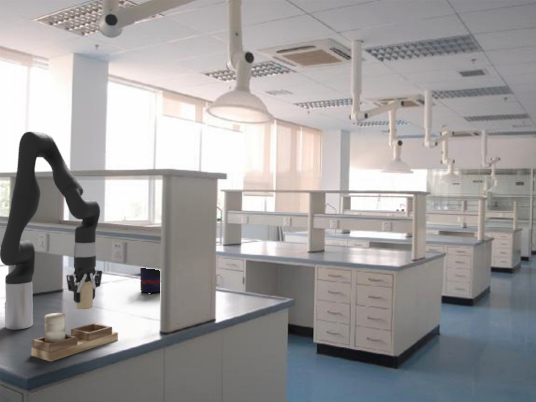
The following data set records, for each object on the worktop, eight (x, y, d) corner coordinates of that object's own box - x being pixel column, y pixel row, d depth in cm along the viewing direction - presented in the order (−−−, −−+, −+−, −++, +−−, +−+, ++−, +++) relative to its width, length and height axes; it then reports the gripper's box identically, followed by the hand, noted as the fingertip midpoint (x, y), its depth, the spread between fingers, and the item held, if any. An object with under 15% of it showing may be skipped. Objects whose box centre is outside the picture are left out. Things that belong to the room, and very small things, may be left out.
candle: (85, 310, 176) (85, 282, 175) (73, 308, 178) (73, 280, 177) (95, 306, 181) (96, 279, 180) (83, 305, 183) (84, 278, 182)
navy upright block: (168, 292, 253) (168, 233, 253) (147, 295, 245) (147, 235, 245) (155, 288, 264) (154, 232, 263) (134, 291, 256) (134, 233, 255)
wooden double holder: (31, 355, 156) (30, 316, 156) (99, 335, 178) (98, 300, 178) (50, 361, 151) (50, 320, 151) (117, 339, 173) (117, 304, 173)
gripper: (94, 251, 187) (94, 295, 187) (61, 255, 174) (60, 303, 175) (108, 253, 183) (107, 298, 183) (74, 257, 171) (73, 306, 171)
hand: (84, 300), depth 179 cm, fingers closed on candle, 5 cm apart
